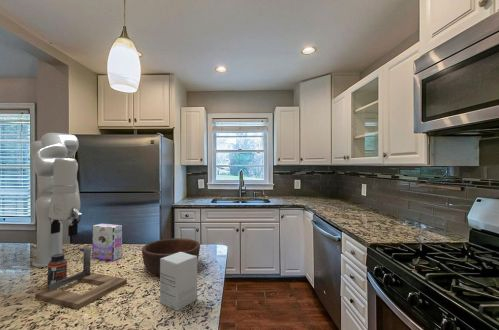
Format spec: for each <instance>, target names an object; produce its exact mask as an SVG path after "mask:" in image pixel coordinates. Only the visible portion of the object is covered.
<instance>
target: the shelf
mask: <svg viewBox="0 0 499 330" xmlns="http://www.w3.org/2000/svg"><path fill="white" fill-rule="evenodd" d="M78 250H79V252H83V257H82V258H83V262H82V263H83V264H82V265H83V267H82V268H83V271H81V272H78V273H76V274H73V275H70V276H67V278H65V279H62V280H60V281H57V282H55V283H52V284H50V285H46V286H47V287H46V289H44V290H41V291H39V292H36V293H34V295H35V296H34V299H35V300H40V301H44V302H46V303H52V304H55V305H59V306H63V307H67V308H71V309H74V310H75V309H76V310H79V309H81V308H83V307H85V306H87V305H89V304H91V303H93V302H94V301H96V300H98V299H100V298H102V297H104V296H105V295H108V294H109V293H112V292H114V291H115V290H116V289H118V288H120V287H122V286H125V285H126V284H127V283H128V281H127V280H128V279H127V278H123V277H117V276H113V275H106V274H101V273H96V272H91V258H92V255H91V253H92V252H91V251H92V247H91V248H90V247H88V248H85V247H79V249H78ZM76 281H77V282H82V283H87V284H91V285H96V287H94V288H92V289H89V290H87V291H86V292H84V293H76V292H71V291H67V290H62V289H60V288H62V287H63V286H66V285H68V284H71V283H73V282H76Z"/></svg>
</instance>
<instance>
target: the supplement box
mask: <svg viewBox="0 0 499 330" xmlns="http://www.w3.org/2000/svg"><path fill="white" fill-rule="evenodd" d="M197 300H198V260H197V256H194V255H190V254H187V253H184V252H178V253H175V254H172V255H170V256H167V257H164V258H160V276H159V304H161V305H163V306H164V307H165V306H166V307H169V308H170V309H172V310H175V311H179V310H181V309H182V308H184V307H186V306H189V305H190V304H192V303H193V302H195V301H197Z"/></svg>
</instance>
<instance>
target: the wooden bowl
mask: <svg viewBox="0 0 499 330" xmlns="http://www.w3.org/2000/svg"><path fill="white" fill-rule="evenodd" d="M200 249H201V243H199V242H198V241H197V240H194V239H190V238H177V237H175V238H165V239H158V240H155V241H151V242H149V243H146V244H145V245H144V246H143V247H142V249H141V255H142V261H143V264H144V267H145V270H146V271H147V272H148V273H149V274H150V275H152V276H155V277H160V258H164V257H167V256H170V255H172V254H175V253H178V252H184V253H187V254H190V255H194V256H197V261H198V260H199V257H200V251H201V250H200Z"/></svg>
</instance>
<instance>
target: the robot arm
mask: <svg viewBox="0 0 499 330" xmlns="http://www.w3.org/2000/svg"><path fill="white" fill-rule="evenodd" d="M79 144H80V143H79V139H78V138H77V136H76V135H74V134H72V133H71V134H70V133H61V132H47V133H43V135H42V137H40V140H34V141H33V142H31V143H30V146H29V153H30V157H31V160H32V166H33V170H34V173H35V174H36V175H37V176H36V177H37V186H38V187H37V188H38V191H39V193H40V194H42V195H43V196H40V197H38V198H37V199H36V201H35V204H34V207H35V213H36V224H37V225H36V231H37V232H36V253H34V254H33V257H35V260H34V261H32V263H31V266H32V267H35V268H42V267H43V268H45V267H46V268H47V267H48V263H49V262H50V261H51V260H52V259H51V256H52V255H54V254H63V231H64V230H63V229H64V228H63V226H64V225H63V223H62V222H63V221H67V222H68V228H67V229H68V230H67V232H68V237H74V236H77V235H78V226H79V224H80V221H81V218H82V217H83V216H82V215H83V214H82V213H81V212H80V209H81V197H80V187H79V182H78V175H77V174H78V172H79V171H78V170H79V164H78V161H77V159H76V158H72V157H73V156H74V155H75V153H76V152H77V151H78V149H79V146H80V145H79ZM64 259H66V260H67V257H66V256H65V255H64Z"/></svg>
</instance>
